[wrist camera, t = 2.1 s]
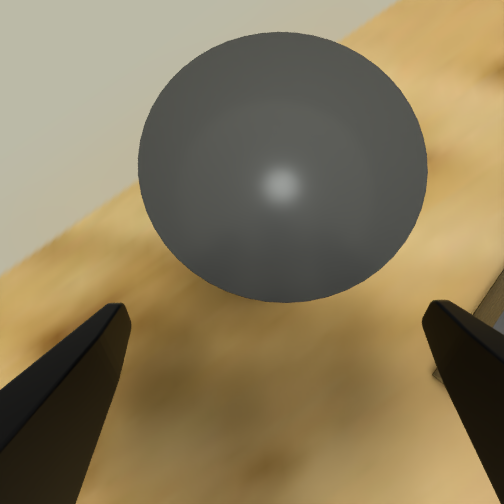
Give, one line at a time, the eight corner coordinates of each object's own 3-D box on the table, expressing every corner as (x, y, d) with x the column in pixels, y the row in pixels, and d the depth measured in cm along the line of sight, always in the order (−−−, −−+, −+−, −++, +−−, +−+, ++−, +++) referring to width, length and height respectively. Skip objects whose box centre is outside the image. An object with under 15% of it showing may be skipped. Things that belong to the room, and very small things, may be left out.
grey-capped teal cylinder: (311, 299, 19) (444, 301, 6) (213, 300, 19) (129, 304, 6) (307, 205, 20) (412, 31, 7) (215, 206, 20) (145, 33, 7)
